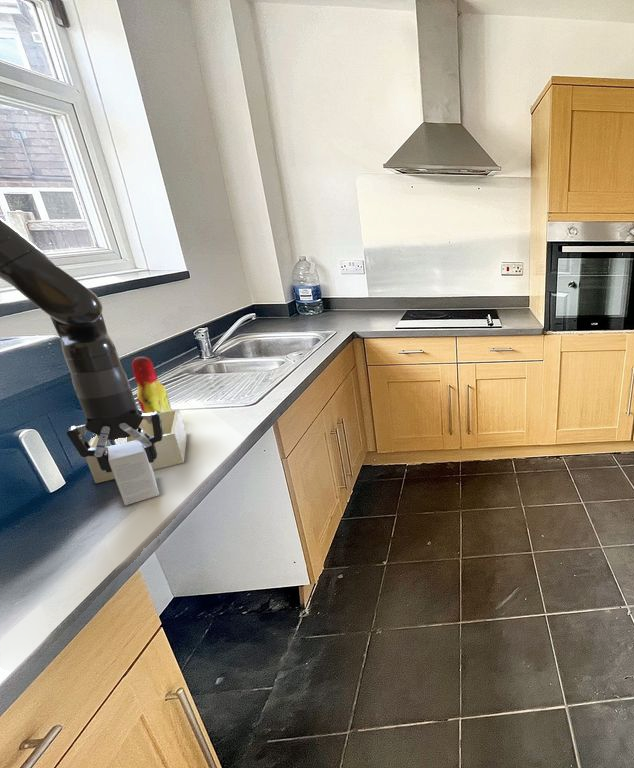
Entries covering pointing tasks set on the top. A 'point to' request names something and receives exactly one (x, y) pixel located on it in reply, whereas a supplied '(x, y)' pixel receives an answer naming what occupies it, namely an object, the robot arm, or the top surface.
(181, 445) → the beige open box
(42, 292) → the robot arm
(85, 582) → the top surface
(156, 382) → the bottle
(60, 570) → the top surface
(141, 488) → the small box
